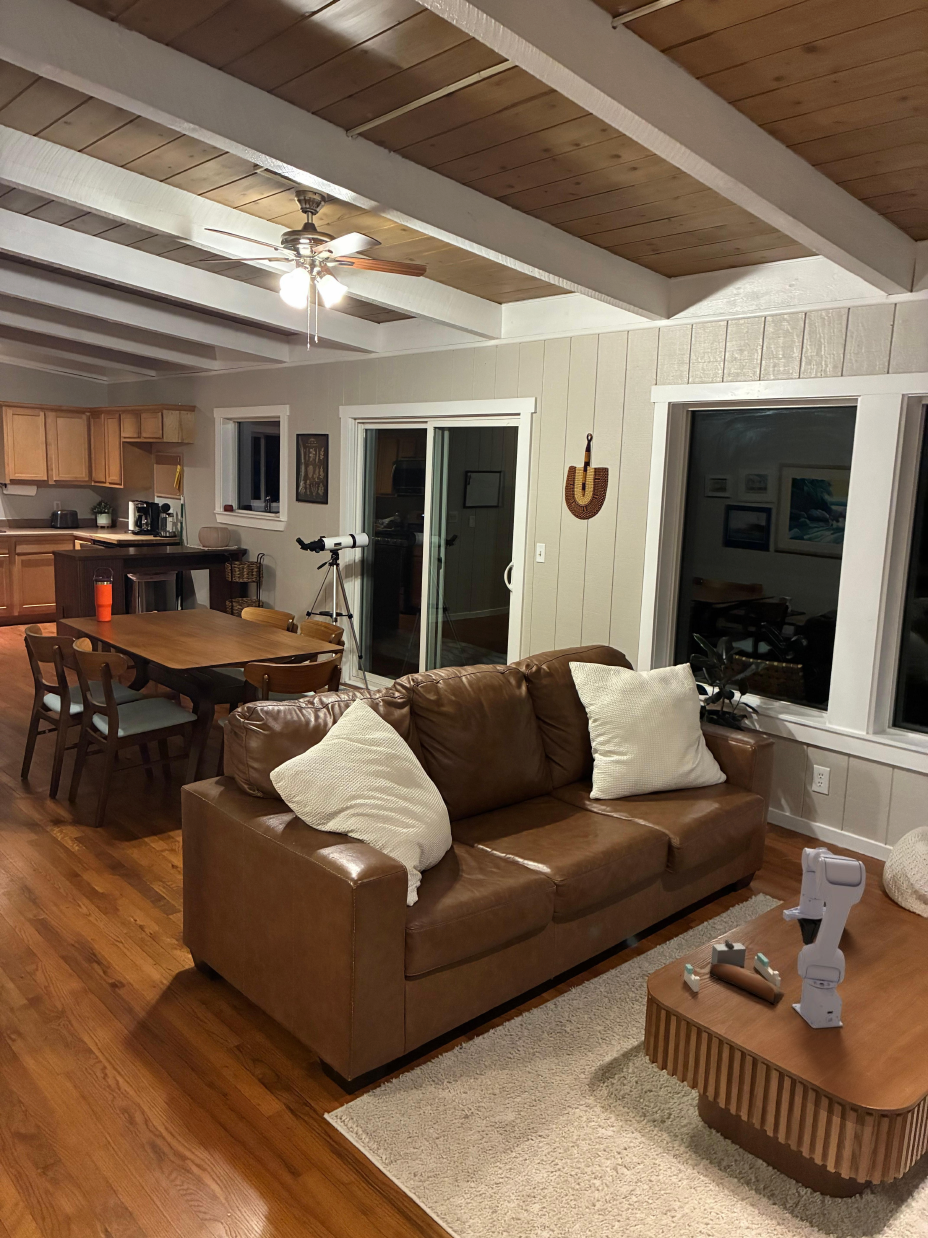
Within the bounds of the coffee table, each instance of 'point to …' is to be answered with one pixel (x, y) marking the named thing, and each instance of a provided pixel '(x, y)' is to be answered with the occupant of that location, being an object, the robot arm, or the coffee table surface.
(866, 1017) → the coffee table surface
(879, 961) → the coffee table surface
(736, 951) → the grey block
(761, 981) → the sunglasses case
